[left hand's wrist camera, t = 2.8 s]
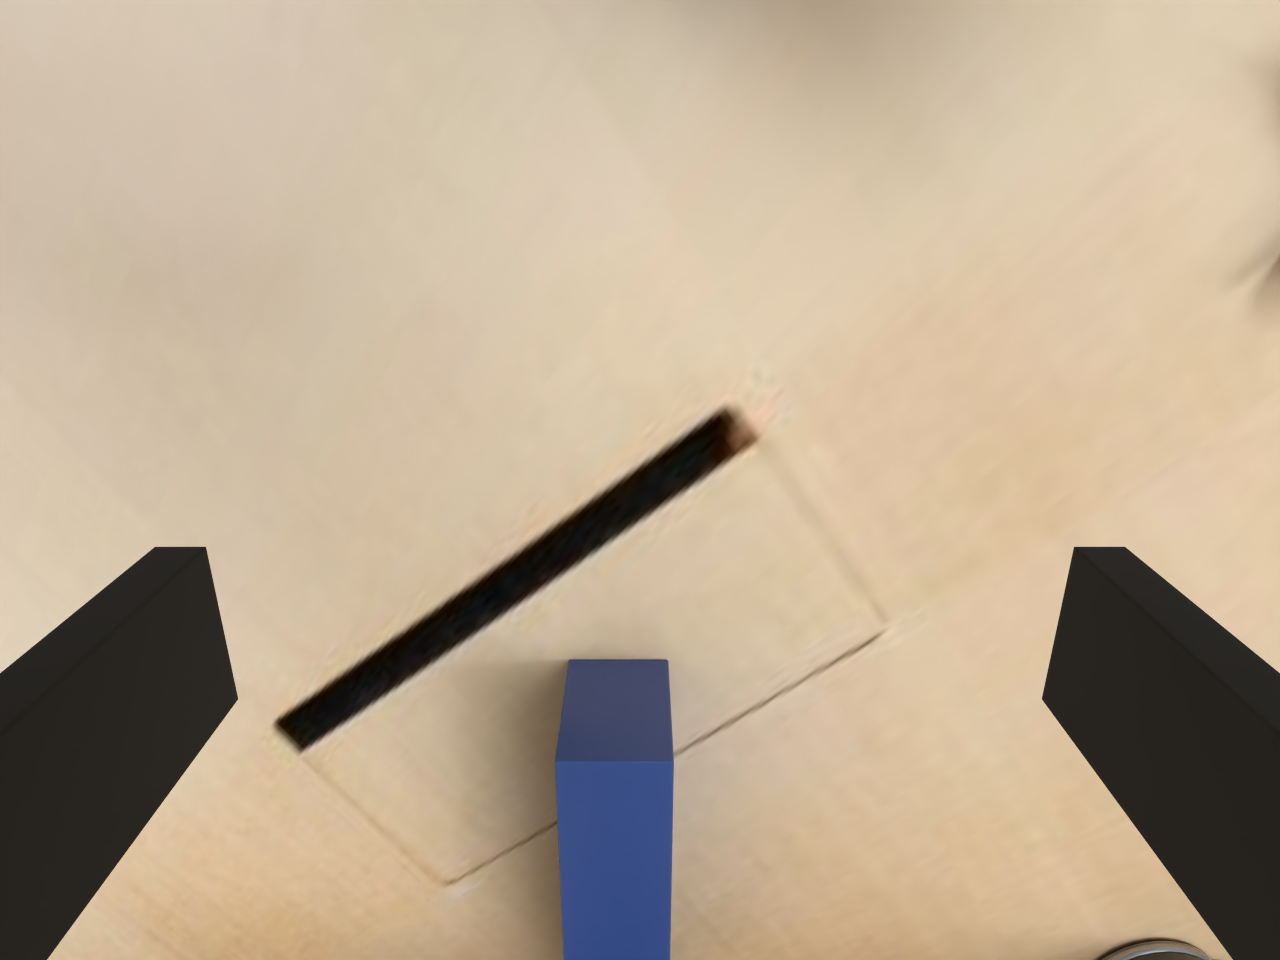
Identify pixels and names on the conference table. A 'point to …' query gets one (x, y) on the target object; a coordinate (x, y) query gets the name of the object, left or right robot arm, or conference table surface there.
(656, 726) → the bar
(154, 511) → the conference table surface
